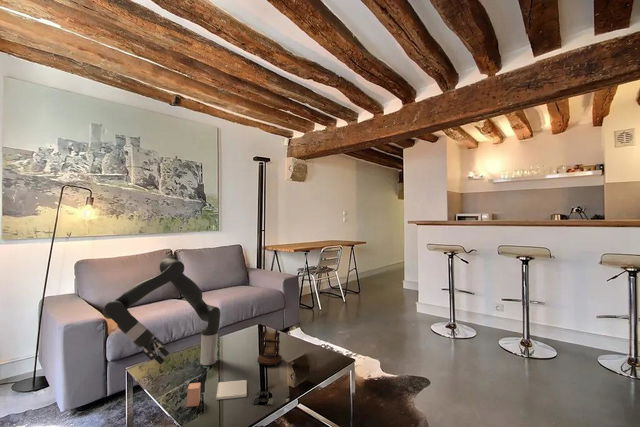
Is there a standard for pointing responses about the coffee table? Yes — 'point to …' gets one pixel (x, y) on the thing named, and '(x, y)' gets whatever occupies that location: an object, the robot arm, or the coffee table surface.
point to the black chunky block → (261, 399)
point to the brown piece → (270, 348)
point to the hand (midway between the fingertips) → (165, 358)
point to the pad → (231, 389)
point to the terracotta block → (193, 394)
